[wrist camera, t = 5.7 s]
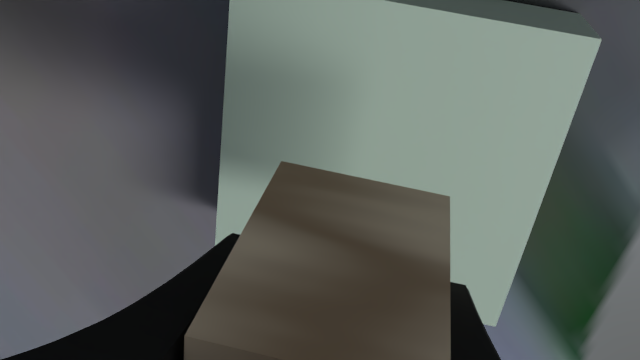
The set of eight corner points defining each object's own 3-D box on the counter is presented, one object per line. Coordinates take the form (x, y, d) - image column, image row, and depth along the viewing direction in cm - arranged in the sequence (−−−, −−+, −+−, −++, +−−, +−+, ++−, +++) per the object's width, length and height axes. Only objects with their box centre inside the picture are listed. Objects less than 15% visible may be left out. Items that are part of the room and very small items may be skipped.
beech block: (265, 291, 16) (179, 497, 11) (280, 160, 14) (184, 335, 9) (413, 326, 16) (396, 556, 11) (450, 196, 14) (450, 401, 9)
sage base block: (239, 218, 24) (214, 262, 21) (260, -43, 19) (231, -28, 17) (489, 273, 23) (495, 326, 20) (579, 13, 18) (601, 39, 16)
